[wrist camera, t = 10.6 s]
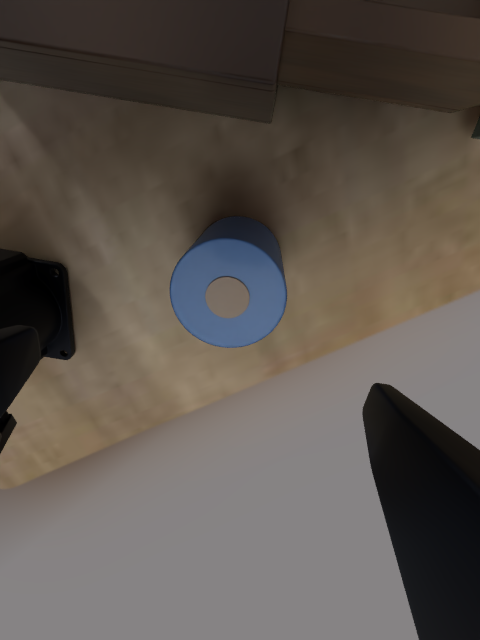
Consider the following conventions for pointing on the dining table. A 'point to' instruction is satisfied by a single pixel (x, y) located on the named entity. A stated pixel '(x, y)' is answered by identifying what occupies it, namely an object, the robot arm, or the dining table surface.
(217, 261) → the towel roll
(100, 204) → the dining table surface
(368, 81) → the drawer
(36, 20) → the cabinet
